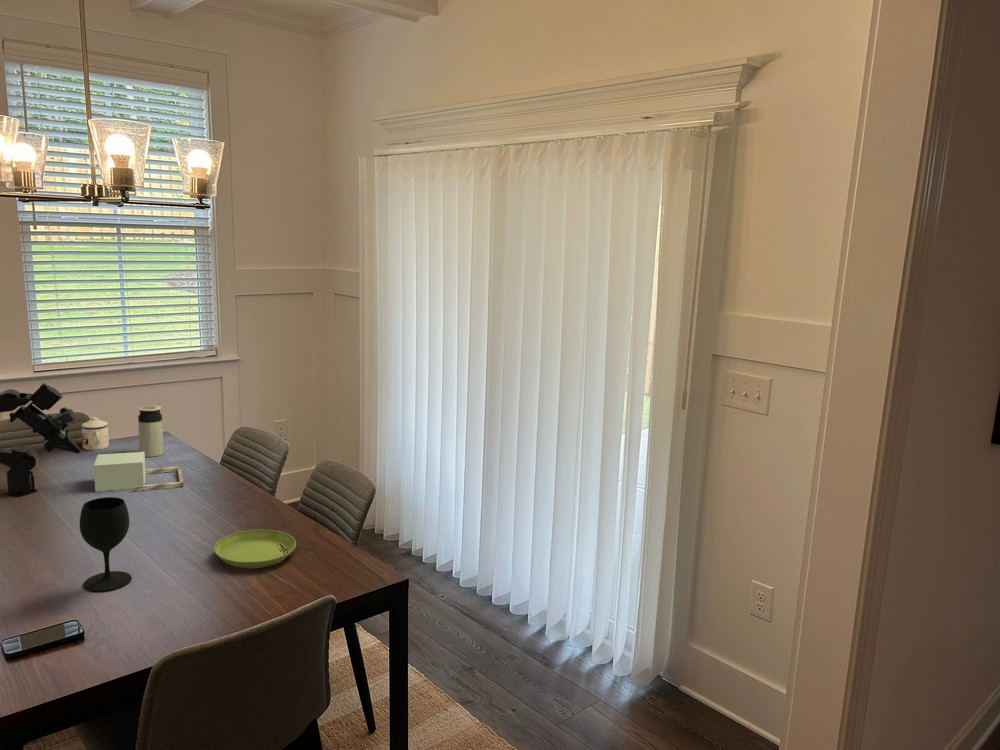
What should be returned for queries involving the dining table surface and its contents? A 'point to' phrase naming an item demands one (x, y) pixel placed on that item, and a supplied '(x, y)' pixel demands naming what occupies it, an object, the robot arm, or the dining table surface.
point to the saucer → (254, 548)
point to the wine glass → (105, 538)
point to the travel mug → (150, 430)
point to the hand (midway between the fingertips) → (79, 452)
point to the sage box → (119, 471)
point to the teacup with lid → (95, 434)
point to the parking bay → (164, 485)
